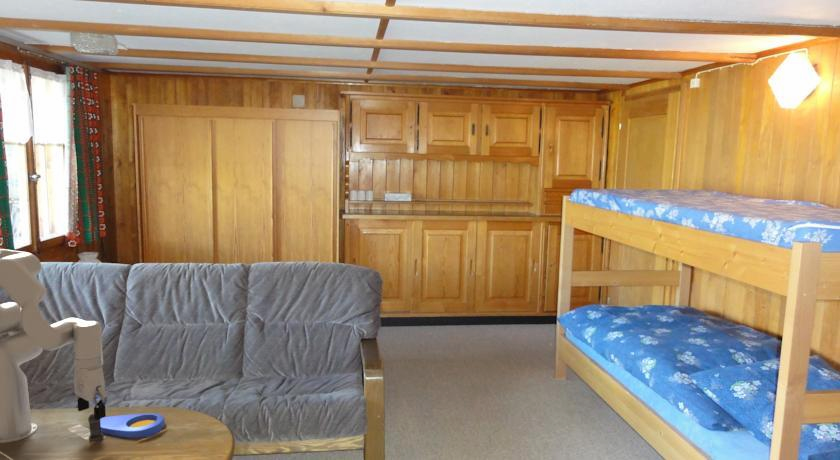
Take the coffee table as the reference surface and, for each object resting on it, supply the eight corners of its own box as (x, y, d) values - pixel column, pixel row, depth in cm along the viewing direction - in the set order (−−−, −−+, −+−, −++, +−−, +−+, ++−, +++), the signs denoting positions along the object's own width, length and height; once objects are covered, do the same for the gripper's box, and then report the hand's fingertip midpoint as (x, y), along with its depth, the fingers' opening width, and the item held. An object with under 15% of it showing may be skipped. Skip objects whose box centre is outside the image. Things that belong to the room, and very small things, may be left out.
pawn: (86, 439, 186) (84, 414, 185) (99, 434, 189) (97, 409, 188) (93, 442, 184) (90, 417, 183) (106, 437, 187) (103, 412, 186)
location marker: (77, 438, 190) (150, 441, 186) (76, 428, 189) (149, 430, 186) (103, 420, 203) (172, 422, 199) (102, 410, 202) (171, 412, 199)
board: (64, 431, 193) (64, 429, 193) (80, 425, 197) (80, 423, 197) (91, 445, 184) (91, 443, 183) (107, 439, 188) (107, 437, 188)
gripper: (62, 358, 185) (65, 410, 187) (91, 371, 175) (94, 426, 178) (87, 352, 191) (89, 402, 193) (116, 364, 181) (118, 417, 184)
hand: (91, 413), depth 186 cm, fingers open, 9 cm apart
